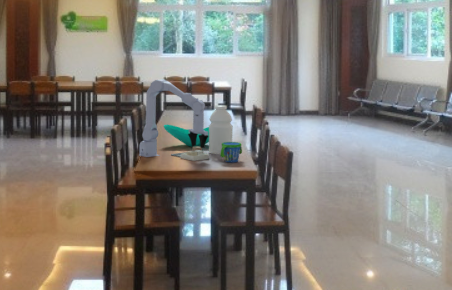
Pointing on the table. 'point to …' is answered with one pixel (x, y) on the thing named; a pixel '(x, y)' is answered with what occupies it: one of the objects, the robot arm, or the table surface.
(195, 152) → the cream cube
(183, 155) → the dish
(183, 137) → the table top decor
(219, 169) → the table surface
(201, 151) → the light grey cube
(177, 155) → the parts tray
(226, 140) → the bottle
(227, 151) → the snack cup
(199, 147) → the tan cube
